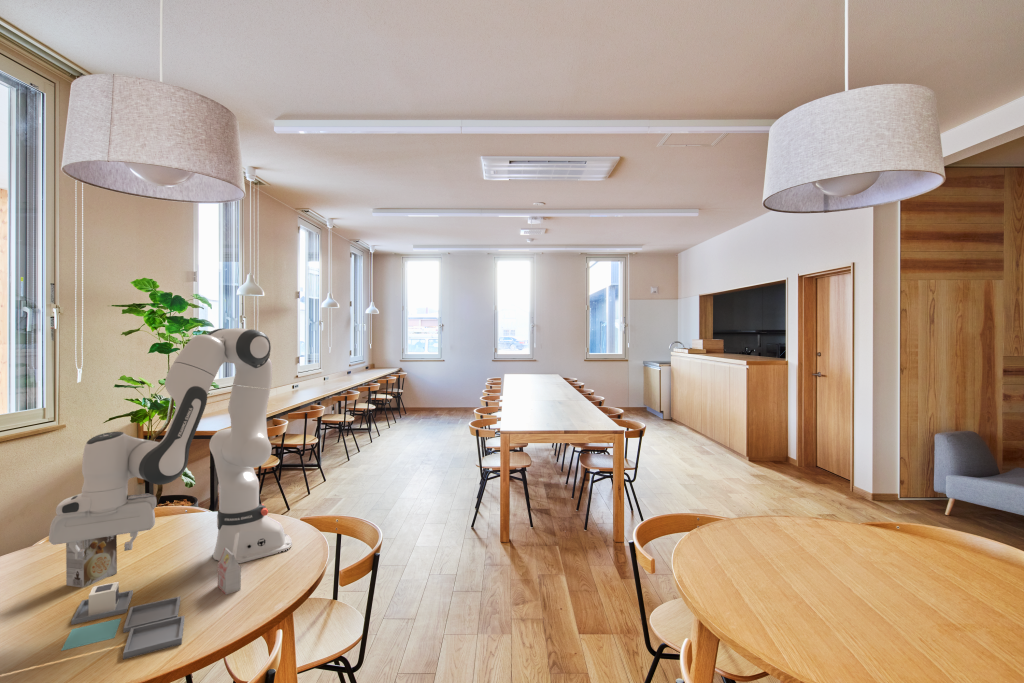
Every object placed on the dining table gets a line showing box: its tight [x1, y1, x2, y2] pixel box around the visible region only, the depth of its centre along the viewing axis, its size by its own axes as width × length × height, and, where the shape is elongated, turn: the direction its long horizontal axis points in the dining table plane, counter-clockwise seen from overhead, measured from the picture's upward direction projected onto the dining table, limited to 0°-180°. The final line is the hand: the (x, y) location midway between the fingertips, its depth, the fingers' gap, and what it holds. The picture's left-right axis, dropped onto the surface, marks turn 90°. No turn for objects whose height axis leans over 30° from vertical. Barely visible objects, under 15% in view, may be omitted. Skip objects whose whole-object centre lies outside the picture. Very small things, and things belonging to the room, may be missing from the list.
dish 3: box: [122, 615, 185, 660], centre depth 109 cm, size 10×10×1 cm
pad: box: [60, 617, 122, 652], centre depth 110 cm, size 9×9×1 cm
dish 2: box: [122, 595, 181, 634], centre depth 117 cm, size 10×10×1 cm
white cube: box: [88, 581, 120, 616], centre depth 120 cm, size 5×5×5 cm
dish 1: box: [70, 589, 134, 626], centre depth 120 cm, size 10×10×1 cm
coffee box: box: [65, 535, 118, 588], centre depth 135 cm, size 9×6×16 cm
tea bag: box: [217, 548, 242, 596], centre depth 132 cm, size 4×7×10 cm, turn 47°
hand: (104, 553), depth 120 cm, fingers open, 8 cm apart
